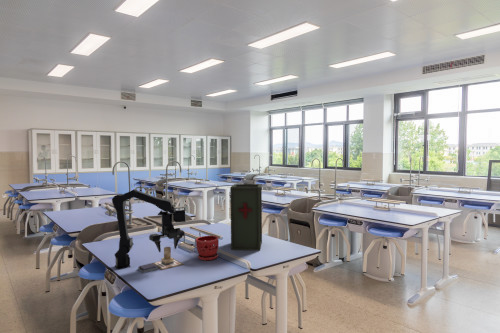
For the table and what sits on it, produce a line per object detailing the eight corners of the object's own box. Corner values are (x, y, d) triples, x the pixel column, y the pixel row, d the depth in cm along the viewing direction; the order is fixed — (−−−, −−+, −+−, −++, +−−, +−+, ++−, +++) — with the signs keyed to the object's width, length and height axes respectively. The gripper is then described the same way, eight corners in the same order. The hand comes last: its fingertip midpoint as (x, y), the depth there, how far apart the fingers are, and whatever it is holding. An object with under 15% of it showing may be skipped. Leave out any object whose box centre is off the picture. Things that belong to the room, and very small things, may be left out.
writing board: (161, 270, 173) (161, 269, 173) (151, 263, 183) (151, 262, 183) (183, 264, 181) (183, 263, 181) (173, 258, 191) (173, 257, 191)
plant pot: (215, 253, 200) (215, 234, 200) (221, 260, 188) (221, 239, 188) (194, 256, 196) (193, 236, 195) (198, 263, 184) (198, 241, 183)
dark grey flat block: (143, 272, 169) (142, 269, 169) (138, 269, 174) (137, 265, 174) (157, 269, 174) (157, 265, 174) (152, 265, 180) (152, 262, 179)
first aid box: (261, 242, 224) (261, 184, 223) (260, 250, 206) (259, 187, 204) (235, 241, 226) (234, 184, 224) (231, 249, 208) (230, 187, 206)
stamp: (165, 265, 178) (165, 249, 178) (161, 263, 182) (161, 247, 182) (173, 263, 182) (173, 247, 181) (169, 261, 185) (169, 245, 185)
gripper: (157, 227, 169) (157, 257, 170) (189, 222, 181) (189, 250, 181) (148, 224, 177) (149, 252, 178) (179, 219, 189) (180, 246, 190)
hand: (167, 250), depth 182 cm, fingers open, 9 cm apart
